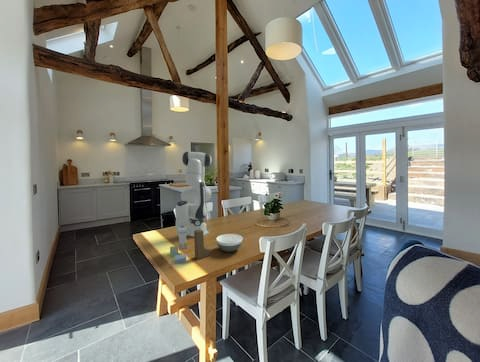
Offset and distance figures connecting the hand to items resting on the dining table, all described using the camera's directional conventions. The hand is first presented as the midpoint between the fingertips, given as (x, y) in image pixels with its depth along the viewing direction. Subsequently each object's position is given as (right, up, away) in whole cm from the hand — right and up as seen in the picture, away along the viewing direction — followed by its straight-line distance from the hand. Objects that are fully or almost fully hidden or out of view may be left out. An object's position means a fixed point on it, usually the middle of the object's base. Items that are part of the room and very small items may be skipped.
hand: (183, 245), depth 154 cm
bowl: (+31, -5, +6) cm, 32 cm away
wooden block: (+14, -6, -5) cm, 16 cm away
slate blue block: (+1, -7, -11) cm, 13 cm away
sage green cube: (-5, -6, -2) cm, 8 cm away
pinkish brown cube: (0, -2, 0) cm, 2 cm away
